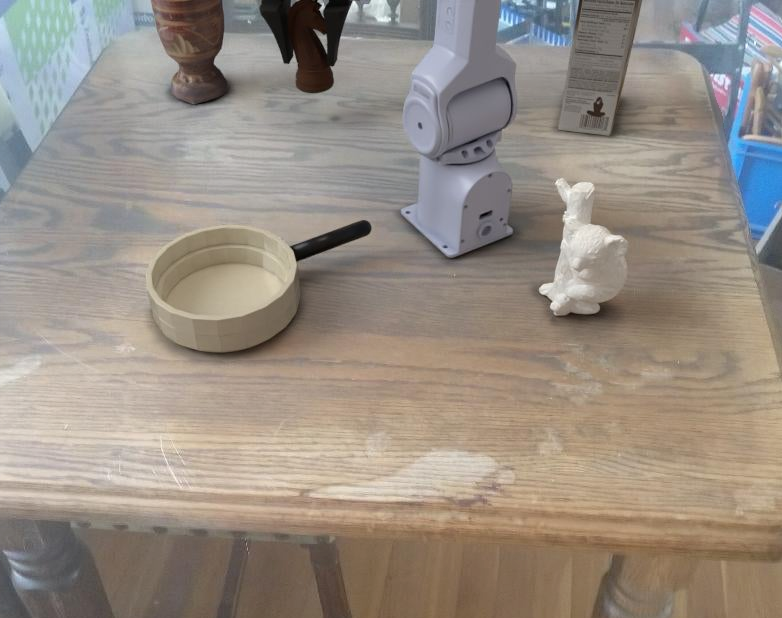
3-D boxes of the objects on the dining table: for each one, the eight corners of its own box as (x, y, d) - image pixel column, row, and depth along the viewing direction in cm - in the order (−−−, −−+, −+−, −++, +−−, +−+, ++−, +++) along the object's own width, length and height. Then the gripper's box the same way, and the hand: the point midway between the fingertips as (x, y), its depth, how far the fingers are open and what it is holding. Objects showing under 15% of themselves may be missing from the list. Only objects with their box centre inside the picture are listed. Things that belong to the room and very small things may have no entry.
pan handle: (288, 268, 83) (287, 255, 82) (281, 259, 84) (280, 246, 83) (374, 236, 86) (374, 222, 85) (366, 228, 87) (366, 214, 86)
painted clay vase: (151, 75, 116) (118, -88, 102) (210, 59, 119) (187, -103, 104) (181, 112, 109) (150, -58, 94) (243, 94, 111) (223, -74, 97)
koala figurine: (515, 290, 83) (532, 182, 74) (572, 268, 85) (595, 160, 76) (571, 343, 78) (596, 233, 69) (630, 318, 79) (662, 208, 70)
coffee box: (567, 93, 108) (590, -43, 96) (620, 99, 106) (650, -39, 94) (556, 131, 102) (579, -10, 90) (612, 137, 100) (643, -5, 88)
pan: (325, 322, 81) (323, 284, 78) (188, 377, 77) (179, 340, 74) (260, 245, 90) (256, 208, 86) (134, 291, 86) (124, 254, 82)
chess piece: (327, 95, 101) (322, 9, 94) (286, 91, 103) (278, 5, 95) (338, 77, 104) (335, -8, 97) (299, 73, 106) (292, -11, 98)
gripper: (377, -76, 93) (377, 49, 103) (248, -80, 95) (261, 42, 105) (364, -51, 88) (366, 77, 98) (229, -56, 91) (244, 69, 101)
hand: (310, 61), depth 101 cm, fingers closed on chess piece, 5 cm apart
